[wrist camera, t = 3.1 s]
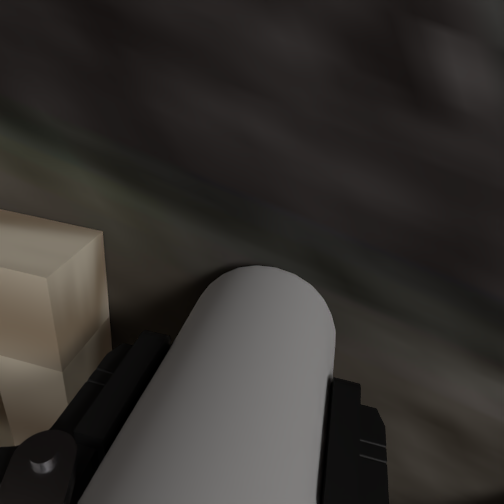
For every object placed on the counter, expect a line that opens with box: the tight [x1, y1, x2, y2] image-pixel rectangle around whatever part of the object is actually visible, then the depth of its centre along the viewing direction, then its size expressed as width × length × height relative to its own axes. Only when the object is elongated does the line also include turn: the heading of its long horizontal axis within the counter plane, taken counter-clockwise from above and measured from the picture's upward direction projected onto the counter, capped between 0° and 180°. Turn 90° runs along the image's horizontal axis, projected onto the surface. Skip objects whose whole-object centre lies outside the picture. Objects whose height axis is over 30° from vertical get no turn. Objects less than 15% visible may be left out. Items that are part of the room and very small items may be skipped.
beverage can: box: [77, 265, 336, 504], centre depth 10 cm, size 5×5×12 cm
